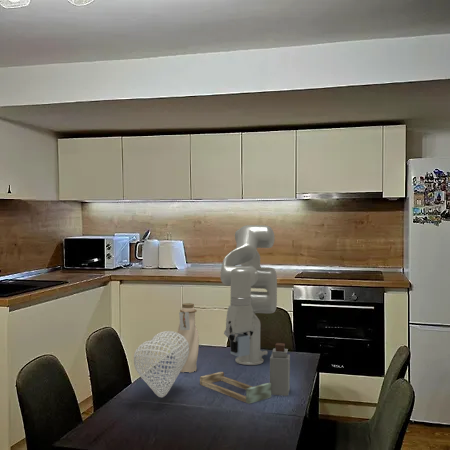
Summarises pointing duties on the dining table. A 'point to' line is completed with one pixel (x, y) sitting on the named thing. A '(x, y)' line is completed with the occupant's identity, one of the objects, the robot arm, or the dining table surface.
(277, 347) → the perfume bottle
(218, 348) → the dining table surface
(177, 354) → the heart
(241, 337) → the grey rectangular block
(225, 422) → the dining table surface
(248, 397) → the track
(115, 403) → the dining table surface
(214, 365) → the dining table surface
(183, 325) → the water bottle
